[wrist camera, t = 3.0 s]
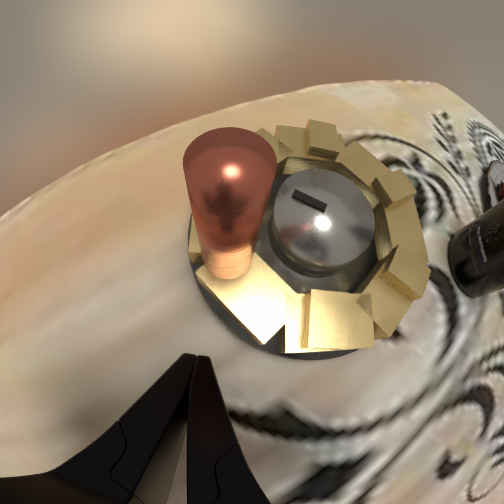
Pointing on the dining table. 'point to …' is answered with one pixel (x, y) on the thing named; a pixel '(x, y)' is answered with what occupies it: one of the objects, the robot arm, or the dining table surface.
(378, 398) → the dining table surface
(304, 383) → the dining table surface
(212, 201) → the handwheel
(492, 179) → the food plate
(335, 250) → the flange
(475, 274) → the supplement bottle
